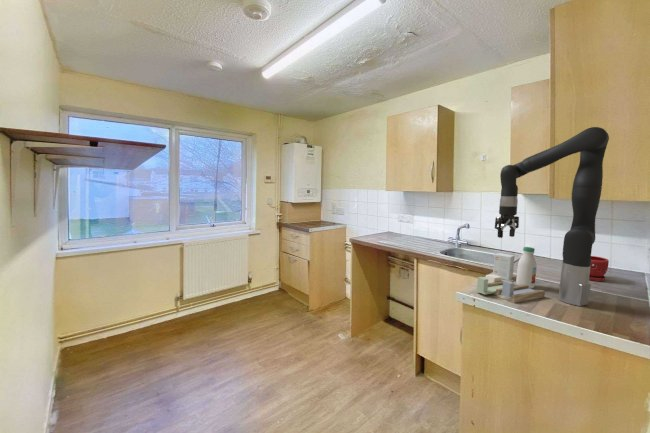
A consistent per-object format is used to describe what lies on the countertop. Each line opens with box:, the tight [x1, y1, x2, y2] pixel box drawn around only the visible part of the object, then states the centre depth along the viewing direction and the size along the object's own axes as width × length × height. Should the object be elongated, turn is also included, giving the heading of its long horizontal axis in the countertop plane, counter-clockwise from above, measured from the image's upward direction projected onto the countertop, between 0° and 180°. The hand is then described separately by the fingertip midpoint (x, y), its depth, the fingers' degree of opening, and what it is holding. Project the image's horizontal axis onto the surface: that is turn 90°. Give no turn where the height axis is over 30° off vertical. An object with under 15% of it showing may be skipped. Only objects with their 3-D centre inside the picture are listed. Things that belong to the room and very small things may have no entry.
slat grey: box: [500, 280, 536, 299], centre depth 130 cm, size 5×19×7 cm, turn 110°
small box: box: [492, 252, 516, 281], centre depth 156 cm, size 8×6×13 cm
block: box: [485, 273, 503, 283], centre depth 144 cm, size 5×5×5 cm
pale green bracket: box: [475, 276, 503, 295], centre depth 134 cm, size 5×19×7 cm, turn 110°
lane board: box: [488, 279, 546, 304], centre depth 134 cm, size 16×20×3 cm
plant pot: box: [589, 255, 610, 282], centre depth 157 cm, size 13×13×12 cm
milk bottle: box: [515, 246, 537, 289], centre depth 143 cm, size 8×8×20 cm
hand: (506, 237), depth 143 cm, fingers open, 8 cm apart
